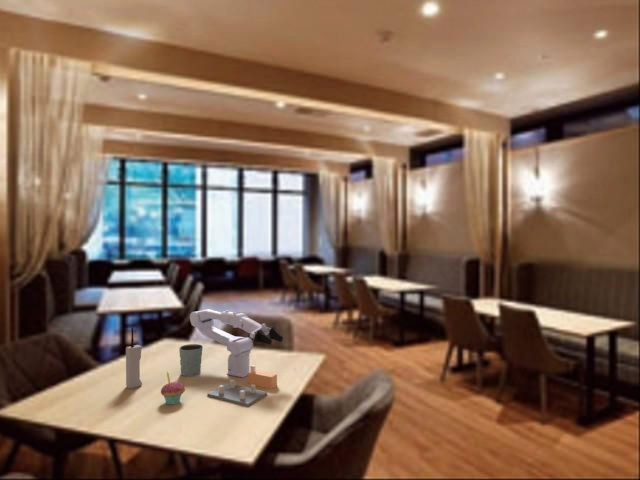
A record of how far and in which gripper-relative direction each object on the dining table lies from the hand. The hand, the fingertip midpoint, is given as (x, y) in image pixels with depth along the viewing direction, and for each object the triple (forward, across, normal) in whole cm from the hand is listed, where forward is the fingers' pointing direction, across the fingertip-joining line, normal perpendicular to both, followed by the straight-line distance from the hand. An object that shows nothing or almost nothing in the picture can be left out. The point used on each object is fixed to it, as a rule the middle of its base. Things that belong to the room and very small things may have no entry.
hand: (276, 340), depth 172 cm
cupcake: (-16, -34, +26) cm, 46 cm away
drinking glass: (-34, -9, +30) cm, 46 cm away
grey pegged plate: (0, -17, +20) cm, 27 cm away
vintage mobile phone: (-41, -33, +34) cm, 62 cm away
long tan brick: (+1, -3, +19) cm, 19 cm away
